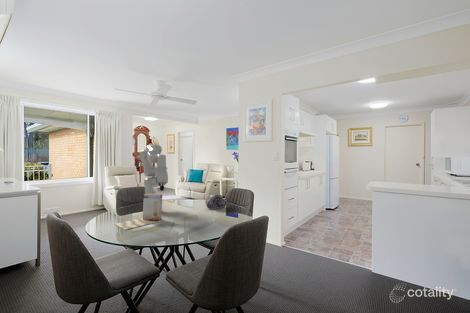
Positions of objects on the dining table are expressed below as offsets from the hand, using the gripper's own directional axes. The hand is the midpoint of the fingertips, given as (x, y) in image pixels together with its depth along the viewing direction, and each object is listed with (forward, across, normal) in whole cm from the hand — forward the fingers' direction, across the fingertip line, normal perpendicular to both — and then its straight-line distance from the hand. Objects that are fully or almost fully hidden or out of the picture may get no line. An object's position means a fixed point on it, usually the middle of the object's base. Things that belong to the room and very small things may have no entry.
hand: (161, 190), depth 200 cm
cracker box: (+23, +9, -1) cm, 25 cm away
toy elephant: (+24, -54, +9) cm, 60 cm away
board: (+23, +24, -1) cm, 33 cm away
